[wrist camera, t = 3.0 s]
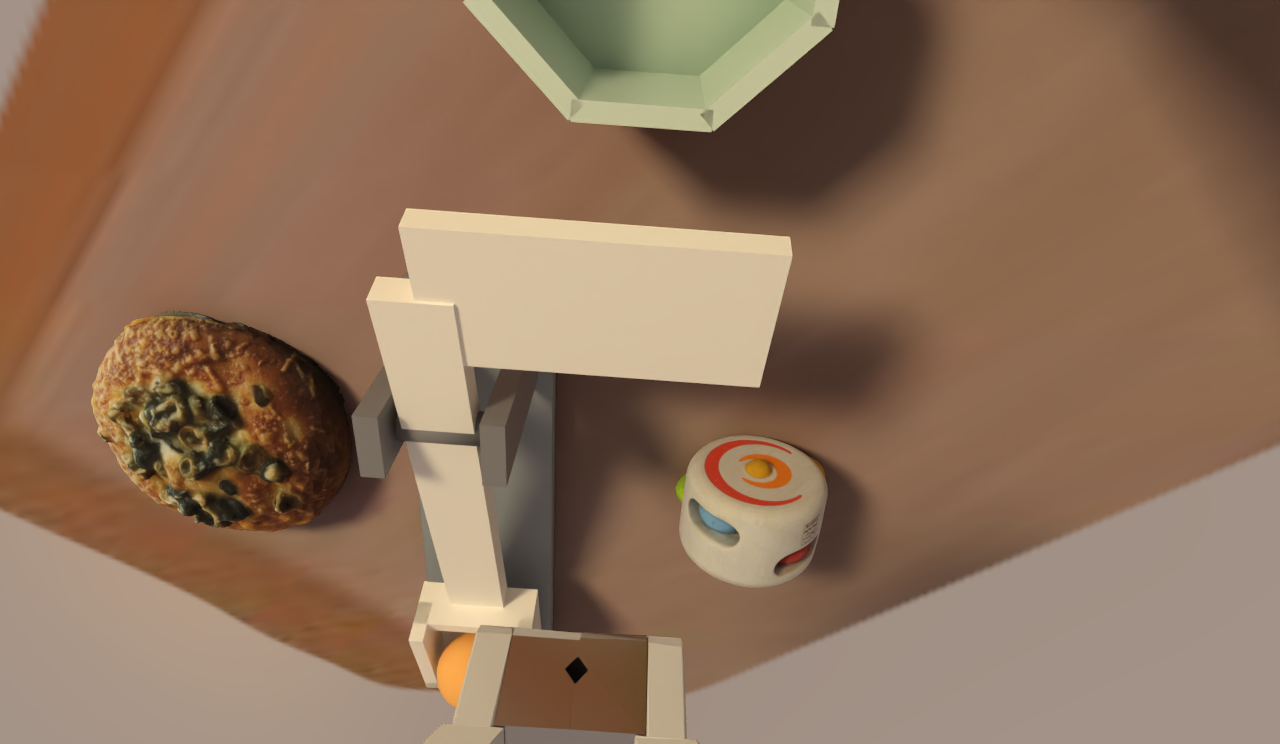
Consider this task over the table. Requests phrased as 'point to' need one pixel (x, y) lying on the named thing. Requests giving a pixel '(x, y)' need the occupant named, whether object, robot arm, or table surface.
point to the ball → (454, 667)
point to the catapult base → (490, 468)
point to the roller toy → (751, 510)
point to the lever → (546, 358)
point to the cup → (655, 54)
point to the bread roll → (222, 422)
